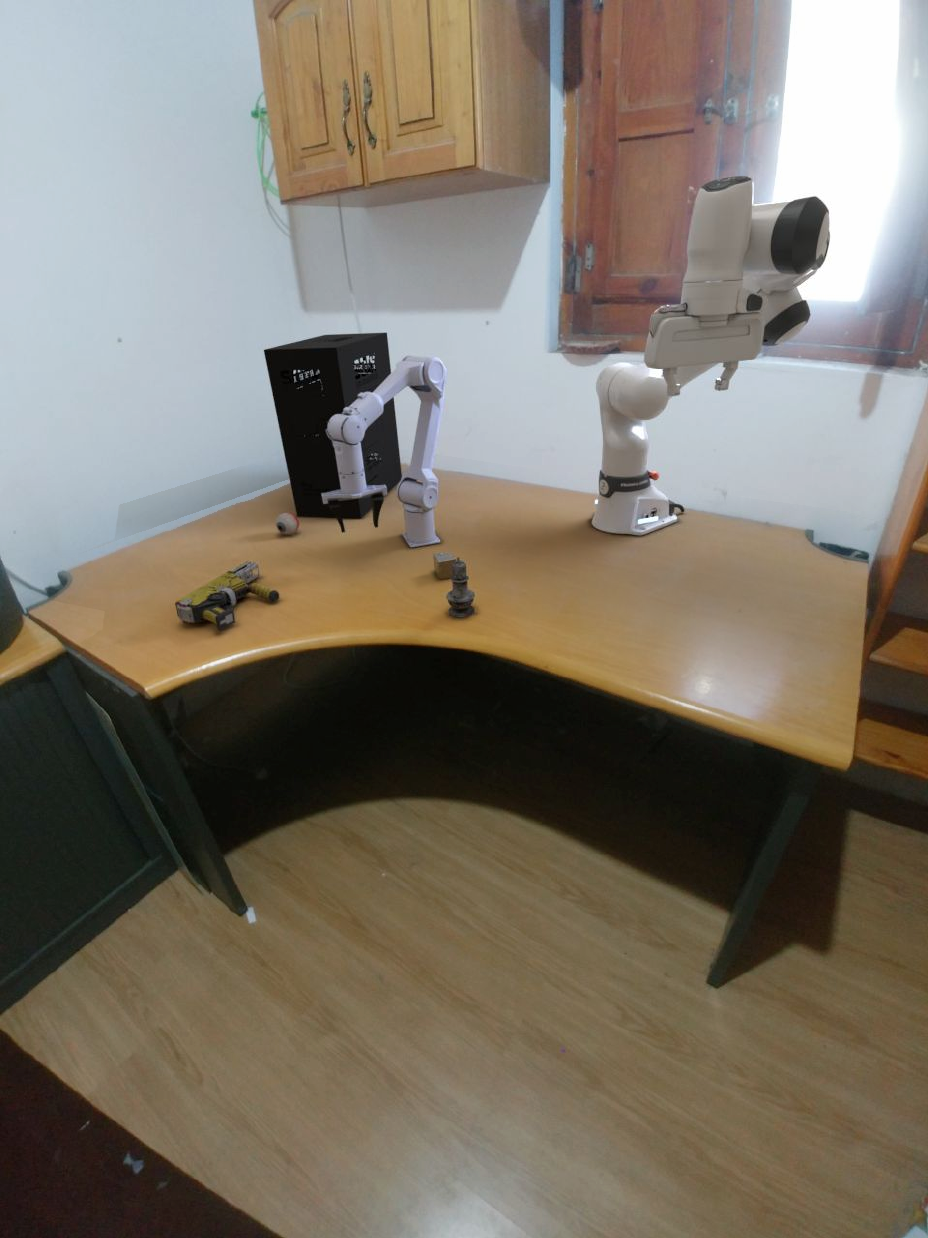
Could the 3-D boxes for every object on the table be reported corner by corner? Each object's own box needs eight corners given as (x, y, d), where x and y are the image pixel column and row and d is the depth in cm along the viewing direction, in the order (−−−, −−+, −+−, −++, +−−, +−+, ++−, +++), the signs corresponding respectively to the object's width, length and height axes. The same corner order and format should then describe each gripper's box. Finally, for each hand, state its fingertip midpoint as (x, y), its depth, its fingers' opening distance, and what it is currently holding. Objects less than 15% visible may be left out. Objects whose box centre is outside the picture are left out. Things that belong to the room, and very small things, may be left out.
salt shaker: (472, 618, 120) (470, 563, 114) (444, 617, 121) (439, 562, 115) (478, 604, 125) (475, 551, 119) (450, 603, 126) (446, 550, 120)
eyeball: (273, 537, 164) (268, 516, 161) (287, 528, 169) (282, 508, 166) (291, 539, 161) (286, 518, 158) (305, 530, 166) (301, 510, 163)
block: (439, 579, 136) (438, 561, 134) (434, 571, 140) (433, 554, 138) (457, 576, 137) (455, 558, 135) (451, 568, 141) (450, 551, 139)
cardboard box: (361, 518, 173) (336, 347, 150) (296, 515, 177) (263, 349, 155) (402, 478, 204) (386, 332, 182) (346, 477, 209) (325, 334, 186)
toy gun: (300, 570, 137) (245, 558, 141) (232, 617, 117) (169, 602, 121) (302, 588, 139) (247, 576, 143) (235, 638, 119) (173, 622, 123)
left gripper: (319, 480, 129) (330, 539, 135) (386, 471, 132) (393, 529, 139) (317, 471, 135) (327, 528, 141) (381, 463, 138) (387, 519, 145)
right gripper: (663, 306, 91) (653, 402, 98) (776, 297, 96) (759, 389, 103) (641, 305, 97) (633, 395, 103) (750, 297, 101) (735, 384, 108)
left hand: (359, 528), depth 140 cm, fingers open, 7 cm apart
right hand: (697, 392), depth 103 cm, fingers open, 8 cm apart
